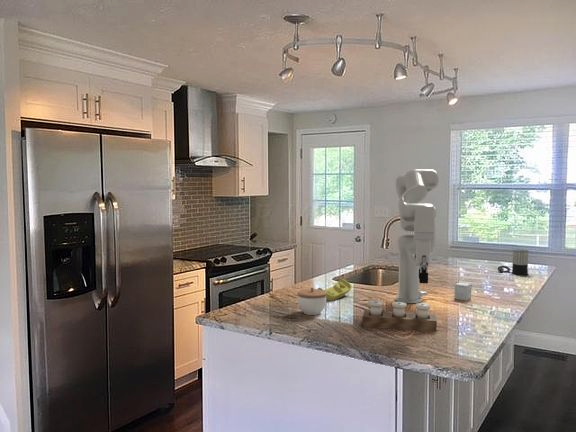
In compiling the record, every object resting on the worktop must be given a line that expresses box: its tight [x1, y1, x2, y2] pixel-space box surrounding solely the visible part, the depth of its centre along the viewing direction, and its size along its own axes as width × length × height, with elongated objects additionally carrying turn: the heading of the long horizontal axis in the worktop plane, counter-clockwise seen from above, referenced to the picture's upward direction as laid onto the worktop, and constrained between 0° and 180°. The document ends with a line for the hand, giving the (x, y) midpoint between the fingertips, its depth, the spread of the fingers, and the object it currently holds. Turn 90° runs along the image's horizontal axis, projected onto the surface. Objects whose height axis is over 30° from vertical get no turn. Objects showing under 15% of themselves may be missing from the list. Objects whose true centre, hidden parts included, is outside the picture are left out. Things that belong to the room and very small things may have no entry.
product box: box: [454, 281, 472, 302], centre depth 236 cm, size 6×6×7 cm
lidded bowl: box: [297, 287, 327, 316], centre depth 211 cm, size 13×13×11 cm
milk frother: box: [497, 248, 529, 276], centre depth 302 cm, size 14×16×15 cm
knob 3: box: [415, 302, 431, 319], centre depth 190 cm, size 6×6×5 cm
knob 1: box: [368, 300, 384, 316], centre depth 194 cm, size 6×6×5 cm
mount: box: [361, 309, 438, 332], centre depth 192 cm, size 28×10×4 cm, turn 76°
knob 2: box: [391, 301, 408, 317], centre depth 192 cm, size 6×6×5 cm
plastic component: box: [317, 278, 353, 302], centre depth 242 cm, size 20×7×10 cm
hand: (423, 280), depth 189 cm, fingers open, 8 cm apart
